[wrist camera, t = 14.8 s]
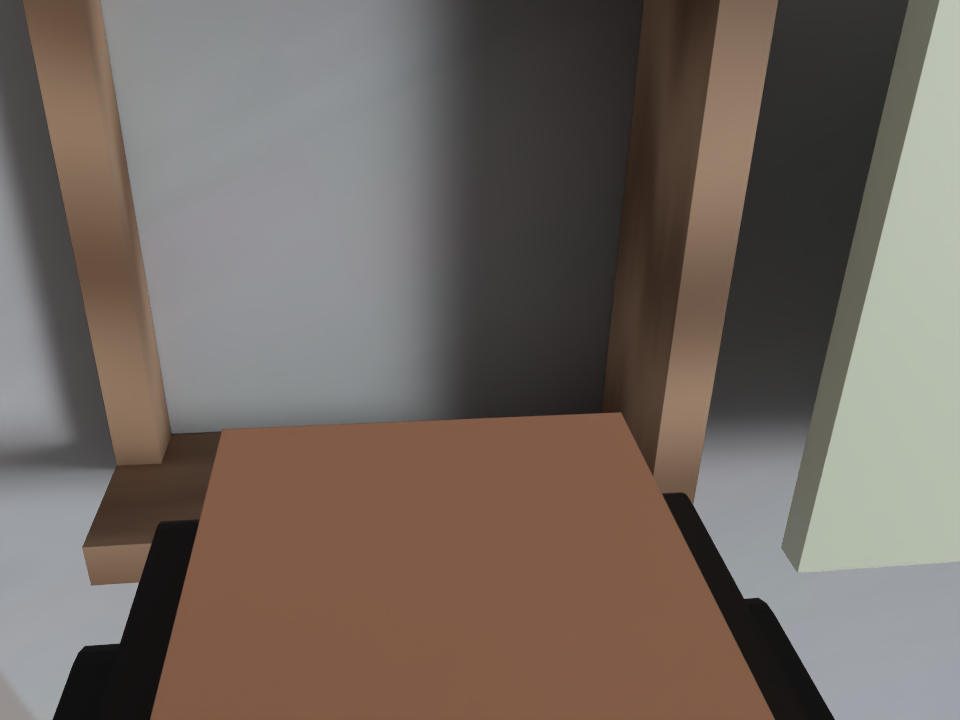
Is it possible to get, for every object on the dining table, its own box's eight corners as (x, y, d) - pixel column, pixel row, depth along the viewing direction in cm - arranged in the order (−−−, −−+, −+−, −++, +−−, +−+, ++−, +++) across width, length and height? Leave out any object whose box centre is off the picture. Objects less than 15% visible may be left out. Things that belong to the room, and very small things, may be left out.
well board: (23, -114, 19) (-76, -118, 15) (702, -96, 21) (794, -94, 17) (135, 470, 26) (91, 585, 22) (634, 445, 28) (686, 546, 24)
